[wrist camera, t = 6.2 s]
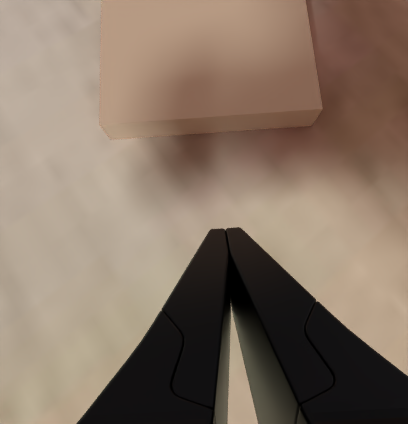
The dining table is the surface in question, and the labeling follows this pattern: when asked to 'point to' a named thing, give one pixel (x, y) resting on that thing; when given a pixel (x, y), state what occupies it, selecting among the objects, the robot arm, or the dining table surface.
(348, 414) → the robot arm
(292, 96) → the tile
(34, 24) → the dining table surface
